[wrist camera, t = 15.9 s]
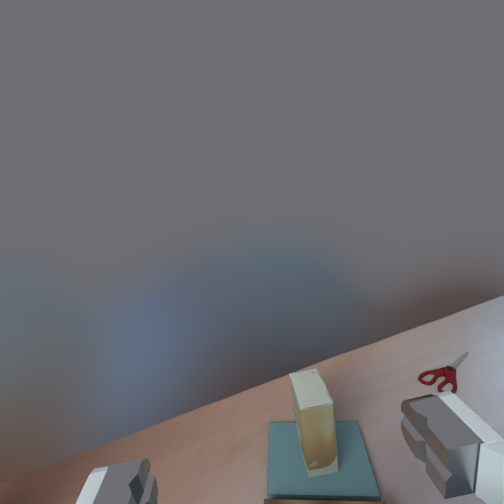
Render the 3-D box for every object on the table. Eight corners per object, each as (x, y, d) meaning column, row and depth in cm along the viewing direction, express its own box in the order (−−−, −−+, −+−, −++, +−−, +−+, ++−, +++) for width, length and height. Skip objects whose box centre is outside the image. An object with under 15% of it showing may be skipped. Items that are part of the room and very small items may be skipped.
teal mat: (267, 498, 33) (266, 494, 33) (270, 426, 43) (269, 422, 43) (380, 500, 31) (380, 496, 31) (357, 424, 41) (356, 420, 41)
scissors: (415, 381, 47) (416, 377, 47) (451, 348, 54) (452, 344, 53) (450, 400, 43) (450, 396, 42) (484, 361, 49) (485, 357, 49)
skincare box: (296, 435, 40) (287, 371, 37) (323, 429, 40) (316, 365, 37) (309, 481, 34) (299, 409, 30) (341, 475, 34) (334, 402, 30)
